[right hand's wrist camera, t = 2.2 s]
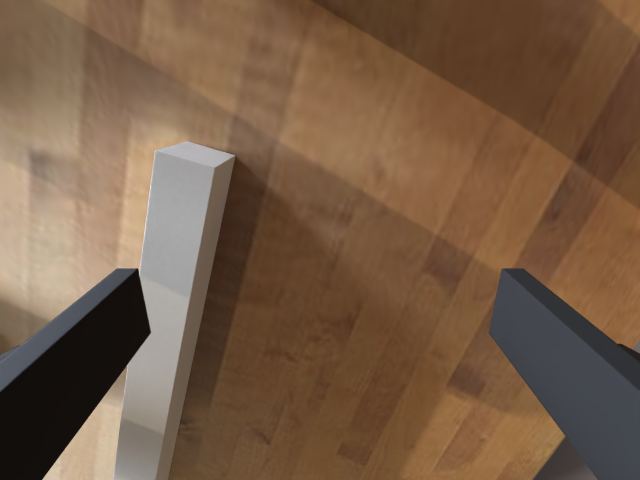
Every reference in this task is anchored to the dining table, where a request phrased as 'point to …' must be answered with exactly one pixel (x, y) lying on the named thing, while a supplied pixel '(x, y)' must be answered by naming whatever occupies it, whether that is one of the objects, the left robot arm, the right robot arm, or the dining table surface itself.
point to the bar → (171, 301)
